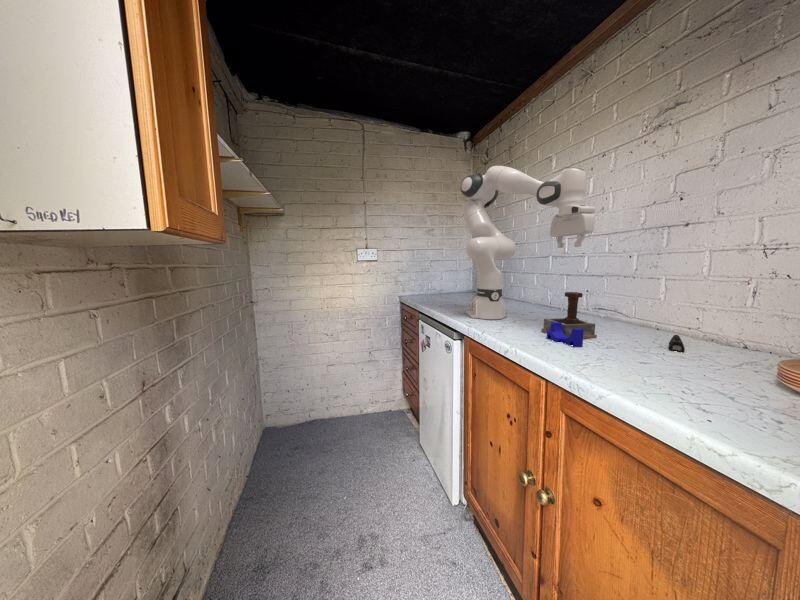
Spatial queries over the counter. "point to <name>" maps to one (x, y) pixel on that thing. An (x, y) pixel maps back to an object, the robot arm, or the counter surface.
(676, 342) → the electric trimmer
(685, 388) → the counter surface
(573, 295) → the bolt
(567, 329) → the bolt stand
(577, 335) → the cable clip
